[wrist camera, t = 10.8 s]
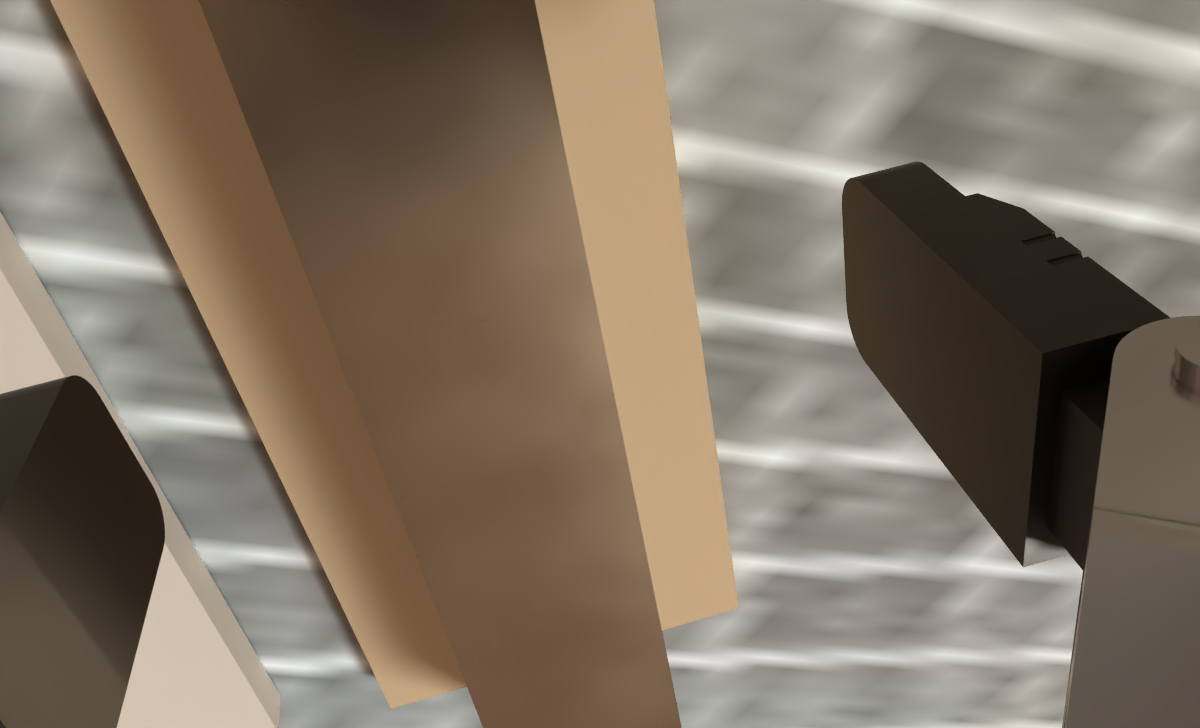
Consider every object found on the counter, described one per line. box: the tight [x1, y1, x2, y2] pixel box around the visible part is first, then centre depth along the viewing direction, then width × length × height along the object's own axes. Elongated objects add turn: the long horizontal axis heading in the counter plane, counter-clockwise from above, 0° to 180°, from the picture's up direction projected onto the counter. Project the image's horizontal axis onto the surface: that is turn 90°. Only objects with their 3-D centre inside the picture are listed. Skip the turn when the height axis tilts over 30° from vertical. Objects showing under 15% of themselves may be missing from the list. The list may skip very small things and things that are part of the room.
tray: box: [50, 0, 738, 709], centre depth 14 cm, size 7×20×1 cm, turn 10°
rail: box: [199, 0, 681, 728], centre depth 12 cm, size 3×22×3 cm, turn 10°
